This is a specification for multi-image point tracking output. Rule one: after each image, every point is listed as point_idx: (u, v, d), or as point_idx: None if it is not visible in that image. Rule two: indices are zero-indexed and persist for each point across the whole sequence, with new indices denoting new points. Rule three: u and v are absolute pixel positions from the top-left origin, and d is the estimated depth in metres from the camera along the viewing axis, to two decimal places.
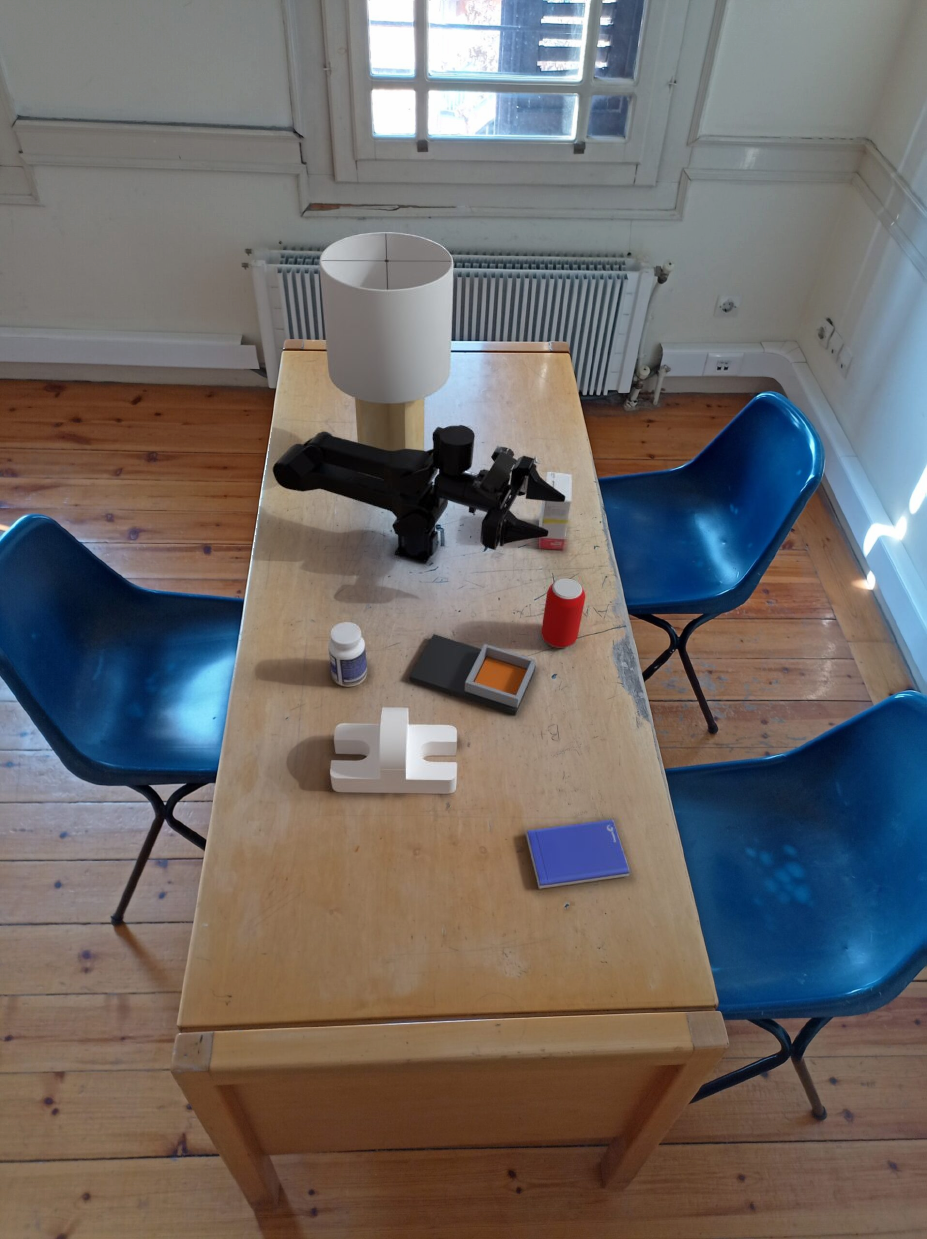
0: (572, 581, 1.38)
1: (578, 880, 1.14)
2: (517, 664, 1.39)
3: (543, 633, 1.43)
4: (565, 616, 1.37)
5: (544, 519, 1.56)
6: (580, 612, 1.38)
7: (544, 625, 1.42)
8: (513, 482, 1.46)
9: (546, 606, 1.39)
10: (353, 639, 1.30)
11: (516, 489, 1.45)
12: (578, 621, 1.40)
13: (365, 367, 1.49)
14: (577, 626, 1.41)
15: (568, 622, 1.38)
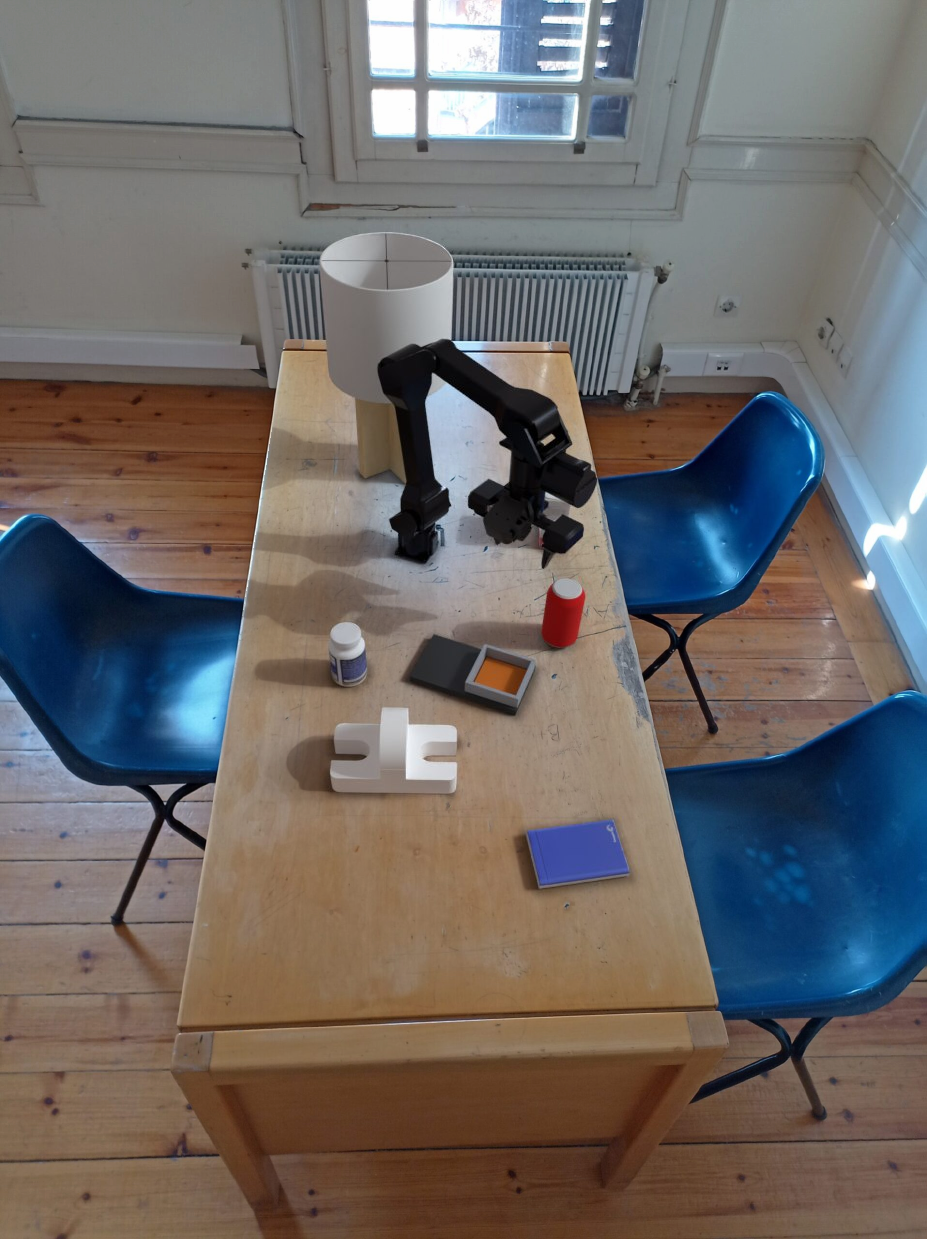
0: (572, 581, 1.38)
1: (578, 880, 1.14)
2: (517, 664, 1.39)
3: (543, 633, 1.43)
4: (565, 616, 1.37)
5: None
6: (580, 612, 1.38)
7: (544, 625, 1.42)
8: (546, 524, 1.32)
9: (546, 606, 1.39)
10: (353, 639, 1.30)
11: (538, 525, 1.33)
12: (578, 621, 1.40)
13: (365, 367, 1.49)
14: (577, 626, 1.41)
15: (568, 622, 1.38)
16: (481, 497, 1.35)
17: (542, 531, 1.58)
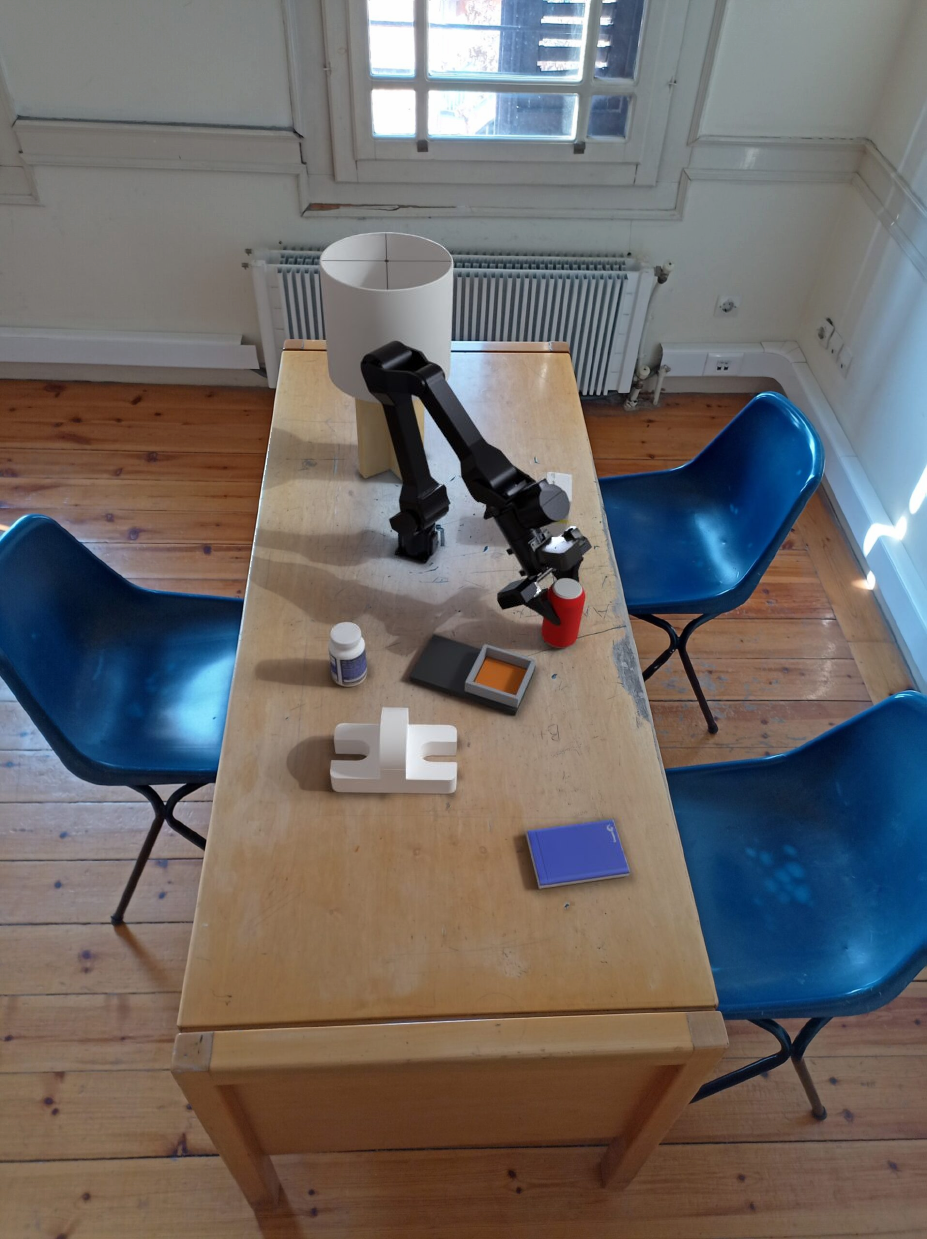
0: (572, 581, 1.38)
1: (578, 880, 1.14)
2: (517, 664, 1.39)
3: (543, 633, 1.43)
4: (565, 616, 1.37)
5: None
6: (580, 612, 1.38)
7: (544, 625, 1.42)
8: None
9: None
10: (353, 639, 1.30)
11: None
12: (578, 621, 1.40)
13: None
14: (577, 626, 1.41)
15: (568, 622, 1.38)
16: (523, 583, 1.33)
17: None
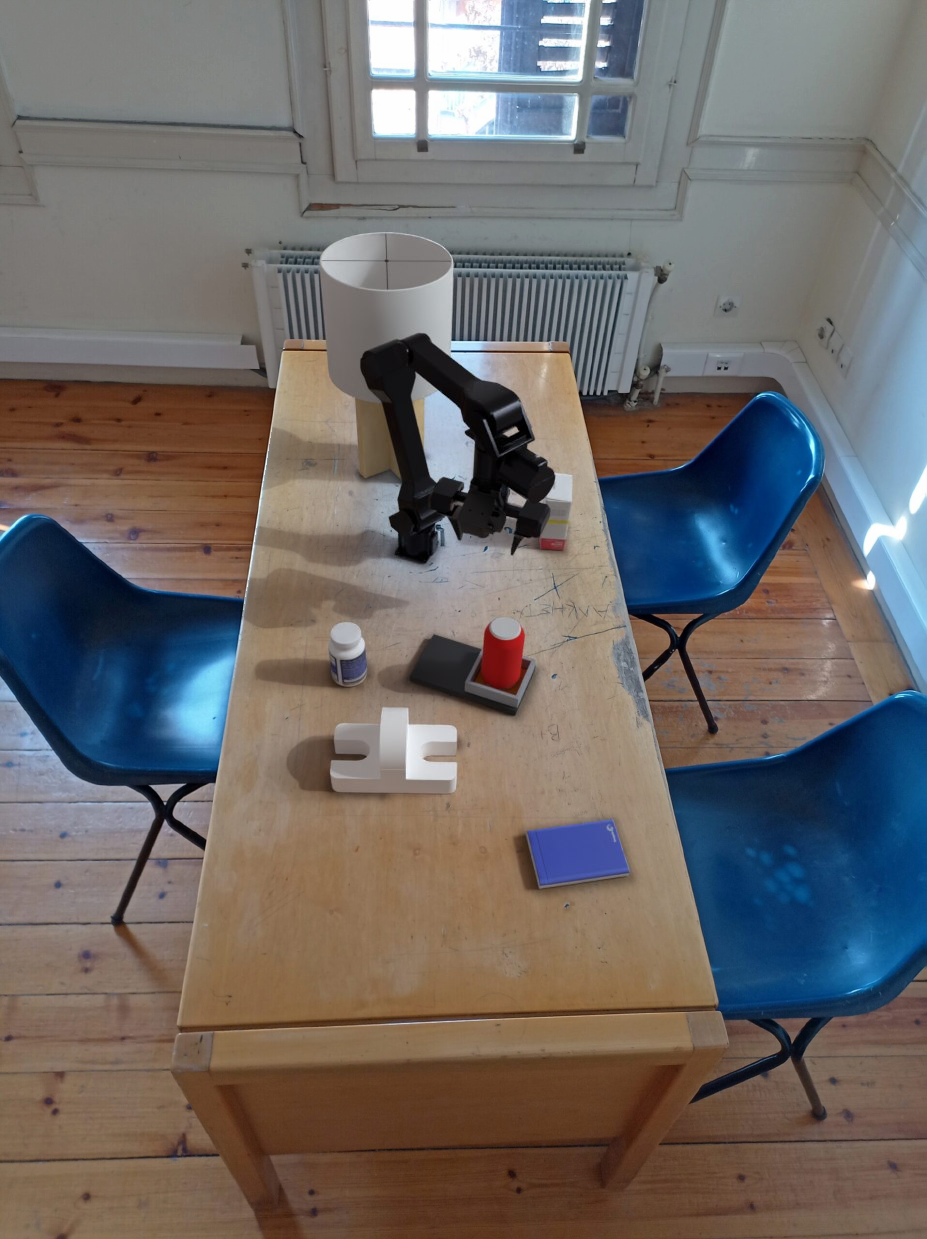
0: (514, 622, 1.29)
1: (578, 880, 1.14)
2: None
3: (481, 667, 1.36)
4: (495, 656, 1.29)
5: None
6: (513, 657, 1.30)
7: None
8: (514, 511, 1.34)
9: None
10: (353, 639, 1.30)
11: (505, 514, 1.35)
12: (512, 666, 1.31)
13: None
14: (511, 671, 1.32)
15: (499, 663, 1.30)
16: (443, 496, 1.34)
17: (543, 531, 1.58)
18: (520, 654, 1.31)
